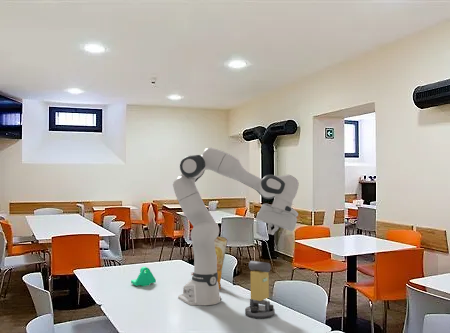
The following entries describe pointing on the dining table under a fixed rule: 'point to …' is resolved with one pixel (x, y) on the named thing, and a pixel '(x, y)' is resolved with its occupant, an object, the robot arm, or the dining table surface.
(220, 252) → the pancake mix bag
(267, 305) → the grey round mount base
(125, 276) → the dining table surface
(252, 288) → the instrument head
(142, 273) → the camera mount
